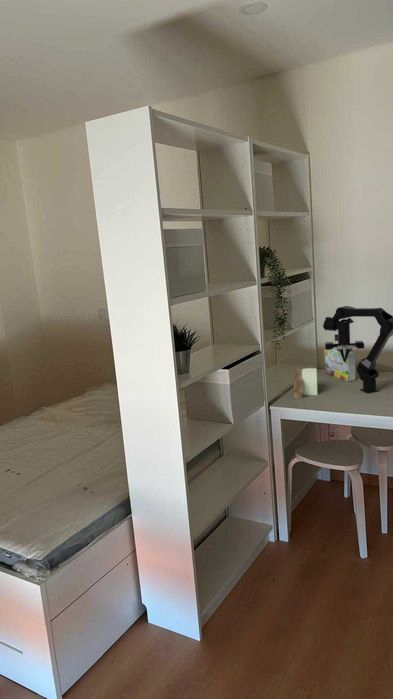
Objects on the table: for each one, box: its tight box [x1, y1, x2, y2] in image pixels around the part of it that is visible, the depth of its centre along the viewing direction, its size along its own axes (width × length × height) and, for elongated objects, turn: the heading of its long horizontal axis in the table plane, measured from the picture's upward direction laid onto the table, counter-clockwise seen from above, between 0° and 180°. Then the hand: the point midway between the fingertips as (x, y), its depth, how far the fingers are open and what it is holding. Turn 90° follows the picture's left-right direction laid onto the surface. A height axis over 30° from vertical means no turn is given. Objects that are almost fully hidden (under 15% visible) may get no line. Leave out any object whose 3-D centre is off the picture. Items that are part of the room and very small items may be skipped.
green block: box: [301, 367, 318, 396], centre depth 268 cm, size 7×10×11 cm
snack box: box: [323, 347, 357, 382], centre depth 290 cm, size 21×6×15 cm, turn 21°
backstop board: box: [293, 369, 304, 399], centre depth 269 cm, size 4×20×9 cm, turn 168°
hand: (344, 362), depth 270 cm, fingers closed
